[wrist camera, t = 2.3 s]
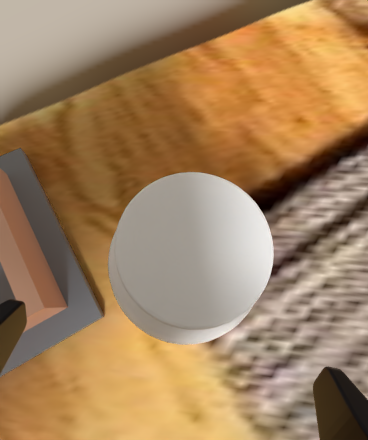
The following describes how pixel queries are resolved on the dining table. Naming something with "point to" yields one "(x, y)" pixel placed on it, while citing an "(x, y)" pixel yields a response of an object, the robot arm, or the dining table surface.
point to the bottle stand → (38, 264)
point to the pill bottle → (190, 257)
